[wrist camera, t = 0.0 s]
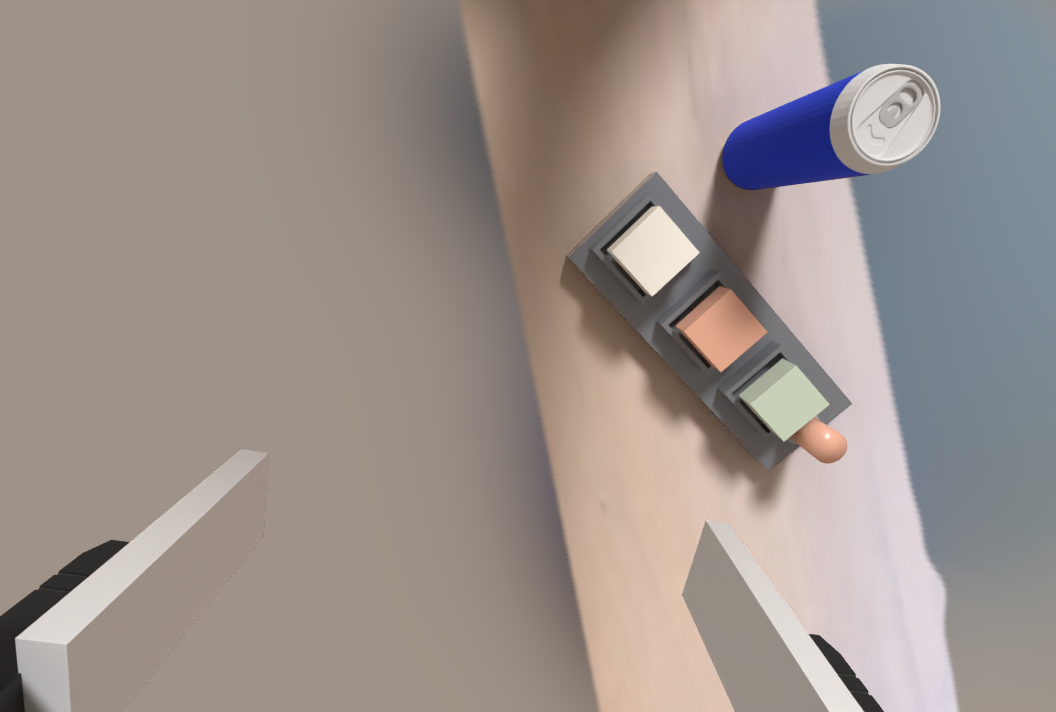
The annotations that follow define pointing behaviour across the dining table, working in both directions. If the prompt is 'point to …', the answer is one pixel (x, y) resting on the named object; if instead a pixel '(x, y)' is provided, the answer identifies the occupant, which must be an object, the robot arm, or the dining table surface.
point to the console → (660, 332)
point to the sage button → (784, 399)
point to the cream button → (653, 250)
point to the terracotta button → (721, 328)
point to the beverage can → (837, 131)
